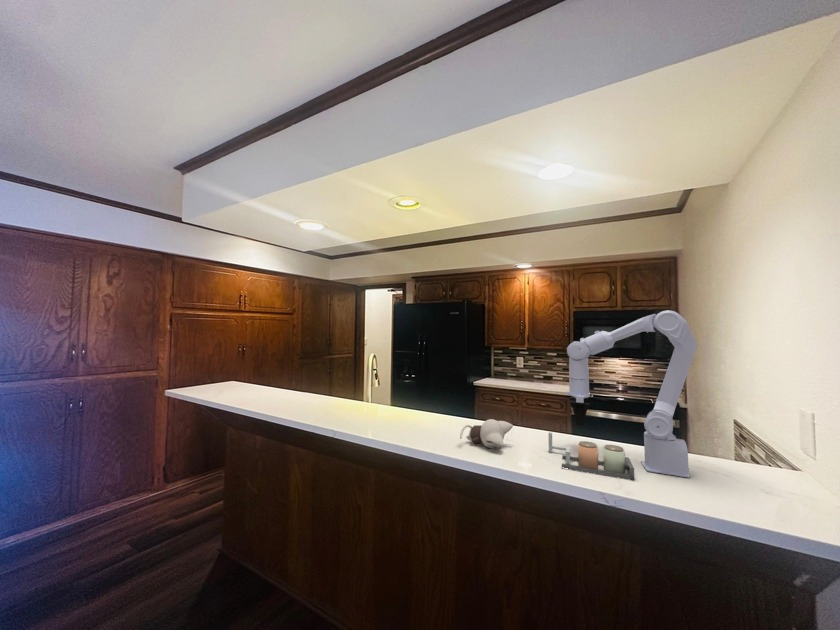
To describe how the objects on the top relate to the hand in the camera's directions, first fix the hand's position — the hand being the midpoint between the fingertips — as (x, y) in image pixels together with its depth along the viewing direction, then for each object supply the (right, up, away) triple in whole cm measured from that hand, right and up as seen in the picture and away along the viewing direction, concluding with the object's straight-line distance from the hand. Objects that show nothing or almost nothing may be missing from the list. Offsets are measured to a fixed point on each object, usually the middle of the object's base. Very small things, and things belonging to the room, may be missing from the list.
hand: (579, 422), depth 104 cm
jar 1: (-4, -8, -13) cm, 16 cm away
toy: (-29, -9, +3) cm, 31 cm away
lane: (-2, -8, -14) cm, 16 cm away
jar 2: (+2, -8, -16) cm, 18 cm away
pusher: (-10, -8, -7) cm, 15 cm away
